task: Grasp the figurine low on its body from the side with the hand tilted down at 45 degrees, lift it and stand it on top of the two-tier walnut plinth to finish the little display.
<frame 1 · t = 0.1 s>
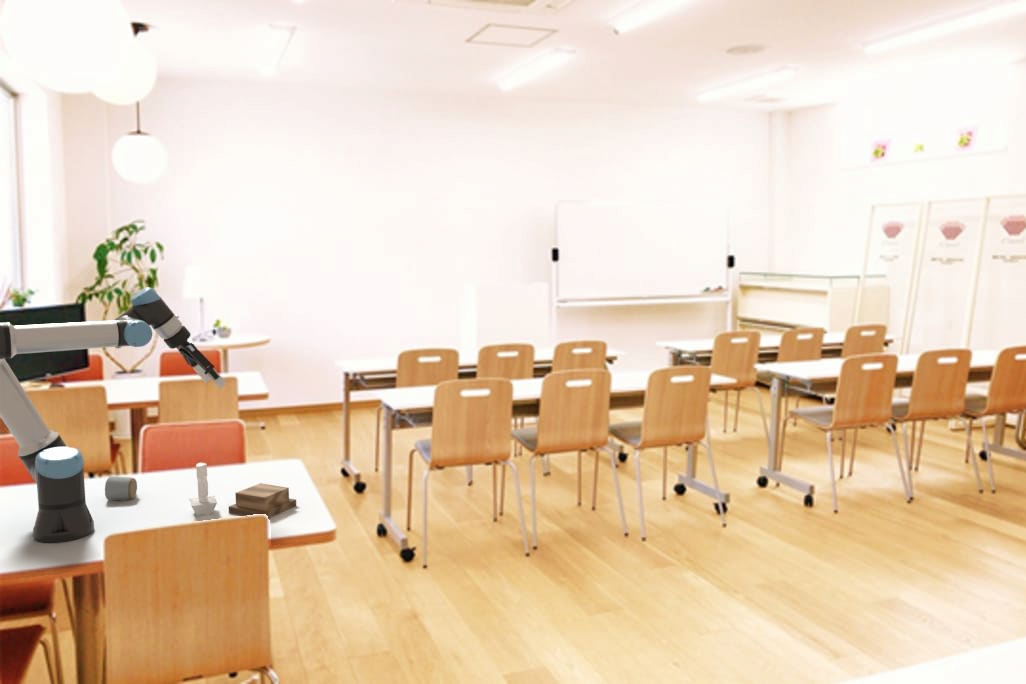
hand: (215, 383, 274), 36 cm above the table, tool tilted 35°, fingers open, 13 cm apart
walnut plinth: (263, 509, 261), on the table
ceramic mug: (122, 498, 272), on the table
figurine: (203, 513, 257), on the table
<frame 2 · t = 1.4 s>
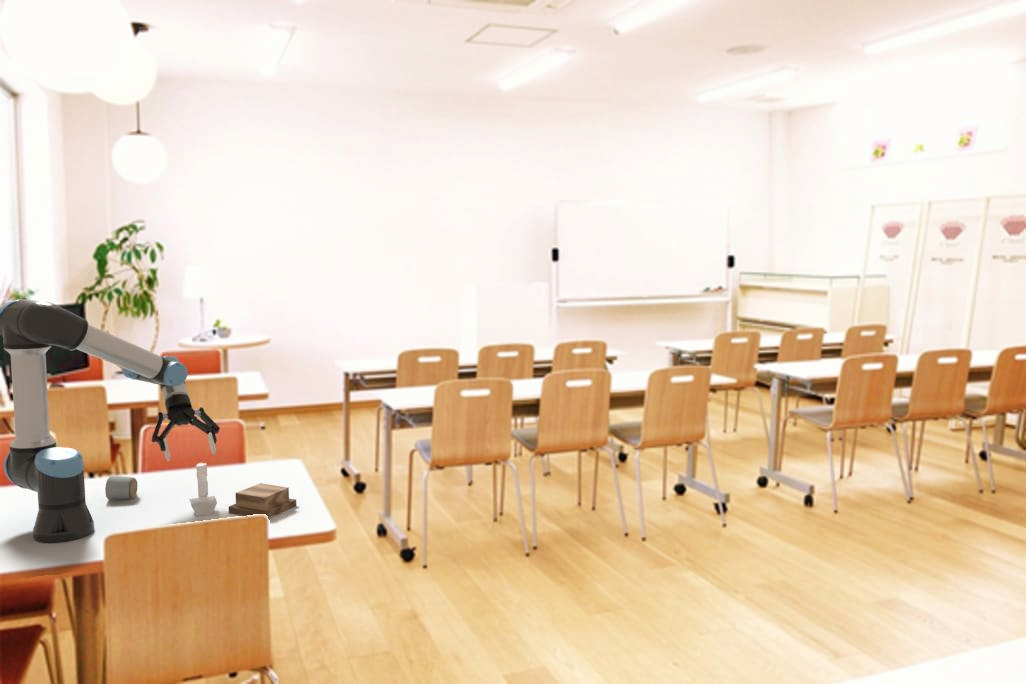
hand: (191, 455, 264), 15 cm above the table, tool tilted 45°, fingers open, 13 cm apart
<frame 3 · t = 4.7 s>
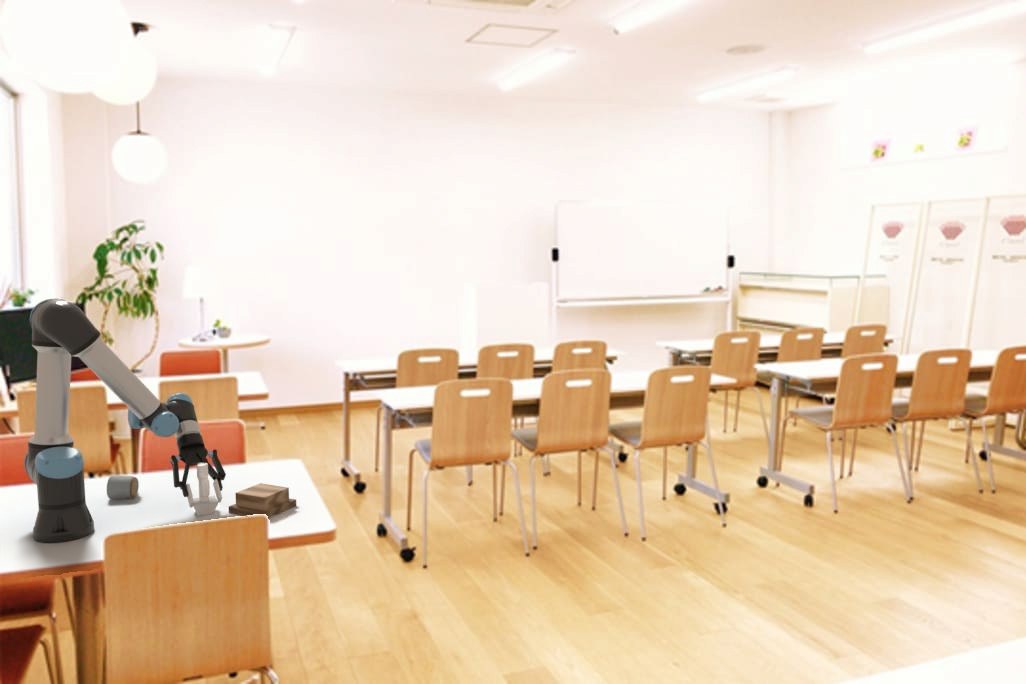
hand: (206, 502, 254), 4 cm above the table, tool tilted 45°, fingers closed on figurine, 7 cm apart
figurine: (204, 513, 258), on the table, touching gripper
when the fingers open (11 cm above the table, at t = 9.3 s): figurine stays where it is, resting on walnut plinth.
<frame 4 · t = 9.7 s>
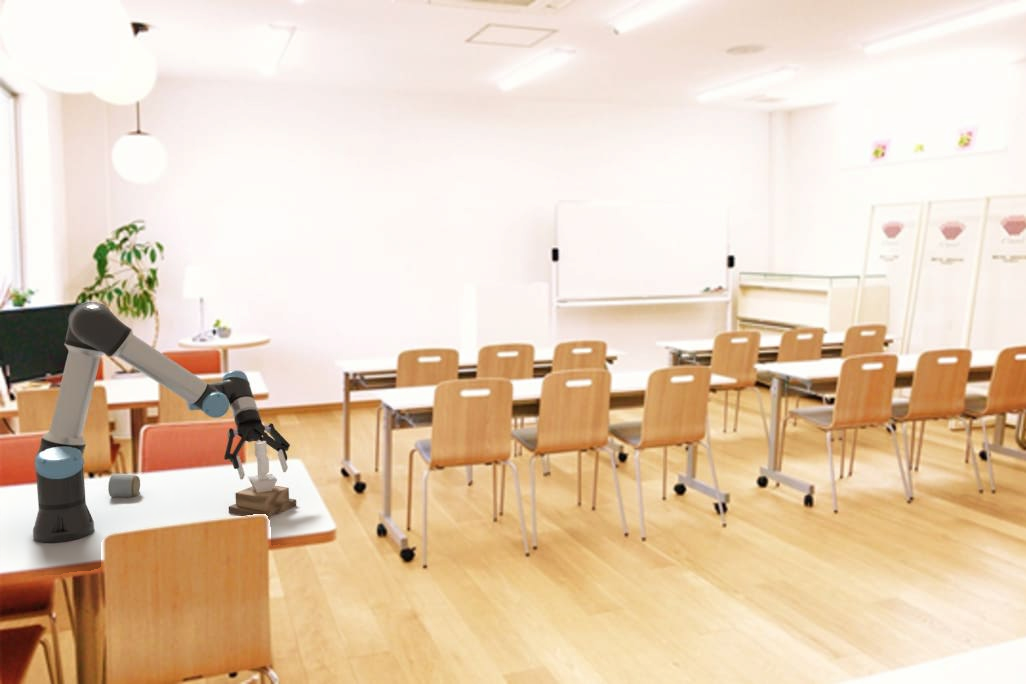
hand: (264, 473, 257), 12 cm above the table, tool tilted 45°, fingers open, 12 cm apart
ceramic mug: (125, 495, 274), on the table
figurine: (262, 490, 260), point 6 cm above the table, touching walnut plinth
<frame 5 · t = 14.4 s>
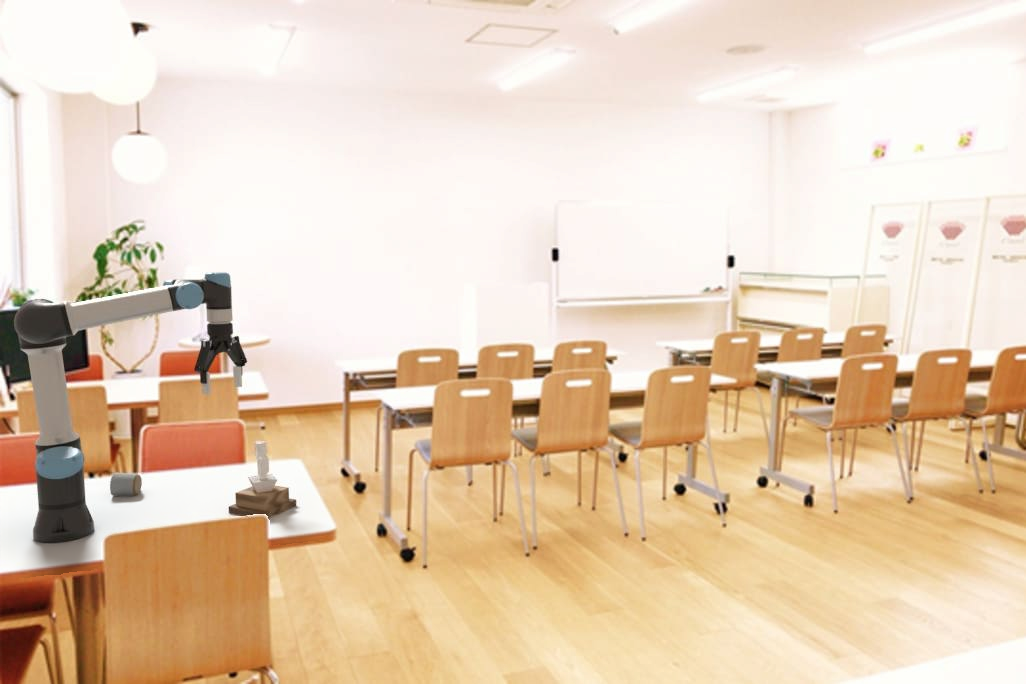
hand: (222, 390, 267), 35 cm above the table, tool pointing down, fingers open, 13 cm apart
ceramic mug: (127, 494, 276), on the table
everything else where it was.
at the end: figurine inside the target area on the walnut plinth (0.3 cm from its centre), point 5.8 cm above the walnut plinth's base; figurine tilted 0°; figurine touching walnut plinth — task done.
